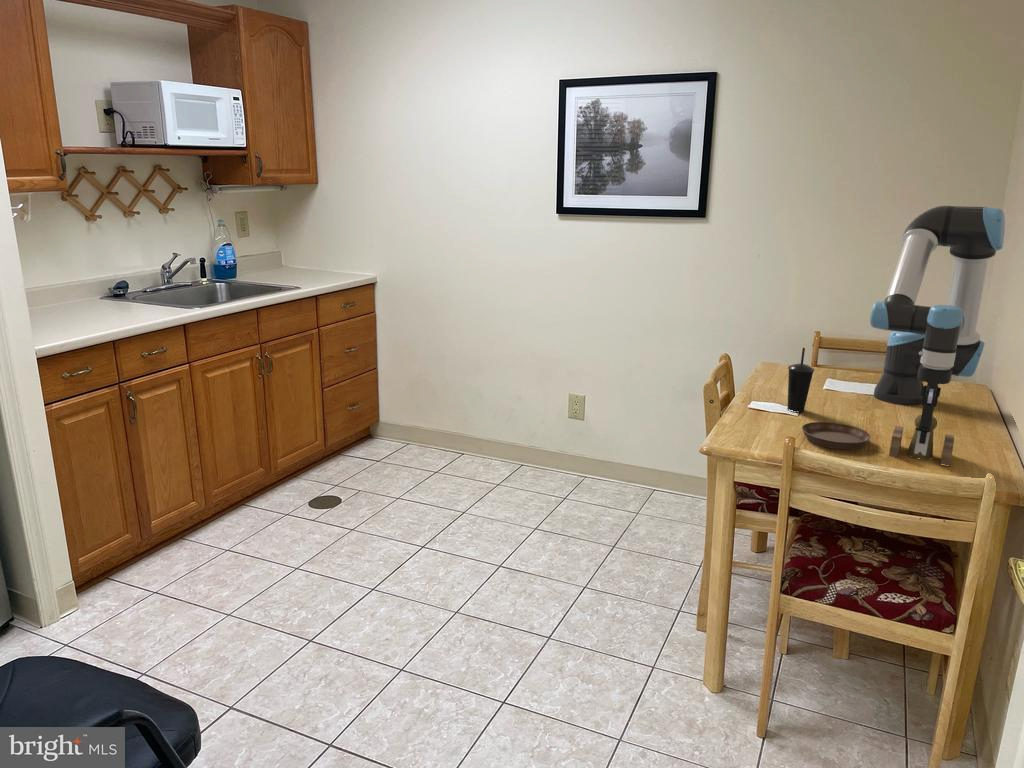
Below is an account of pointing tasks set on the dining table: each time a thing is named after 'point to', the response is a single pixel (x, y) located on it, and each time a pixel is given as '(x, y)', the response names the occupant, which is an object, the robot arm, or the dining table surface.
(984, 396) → the dining table surface
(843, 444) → the plant saucer
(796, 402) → the drinking cup
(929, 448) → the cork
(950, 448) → the wooden bookends
